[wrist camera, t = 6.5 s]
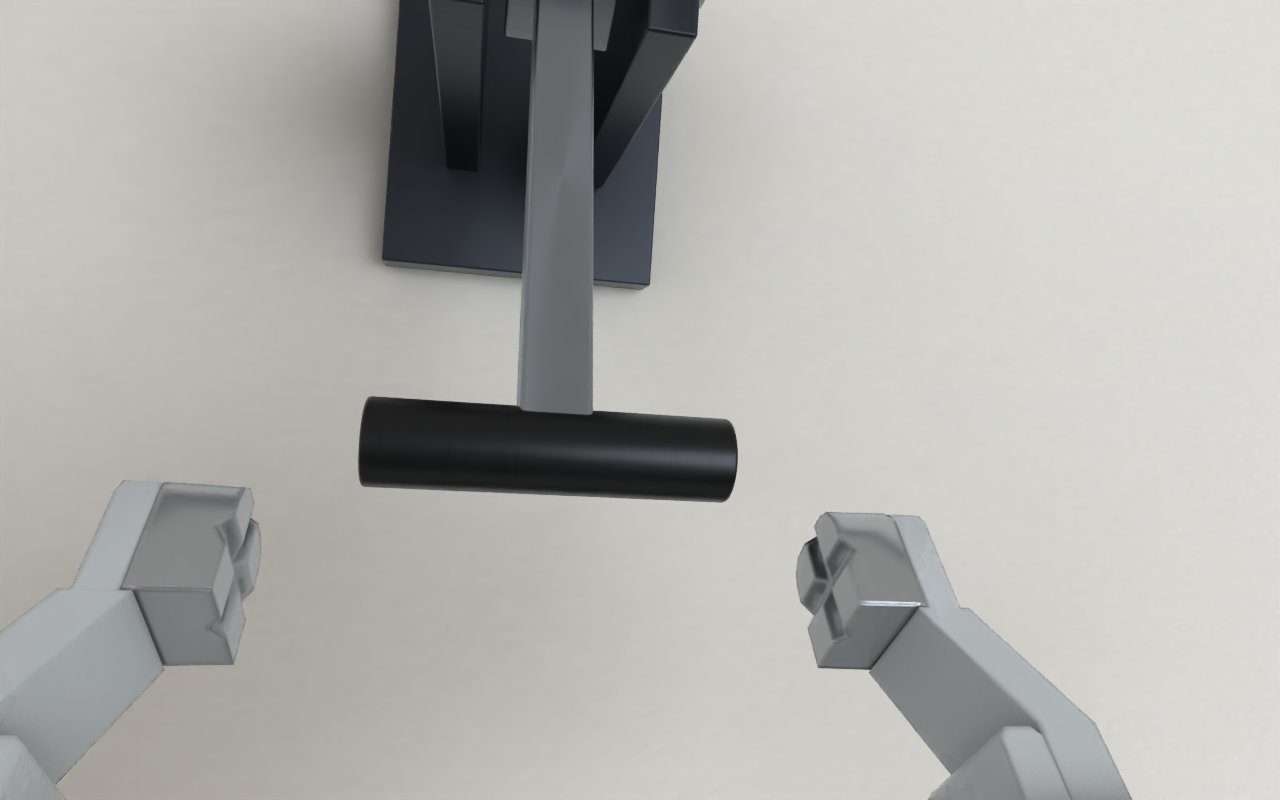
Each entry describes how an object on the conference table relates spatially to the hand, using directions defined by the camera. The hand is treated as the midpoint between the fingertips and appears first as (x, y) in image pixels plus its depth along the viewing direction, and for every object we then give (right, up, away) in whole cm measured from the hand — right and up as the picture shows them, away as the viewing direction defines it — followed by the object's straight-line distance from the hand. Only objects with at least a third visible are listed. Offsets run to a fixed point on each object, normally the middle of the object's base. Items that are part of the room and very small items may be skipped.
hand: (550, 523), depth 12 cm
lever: (0, +6, +4) cm, 7 cm away
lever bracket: (-2, +11, +16) cm, 20 cm away
